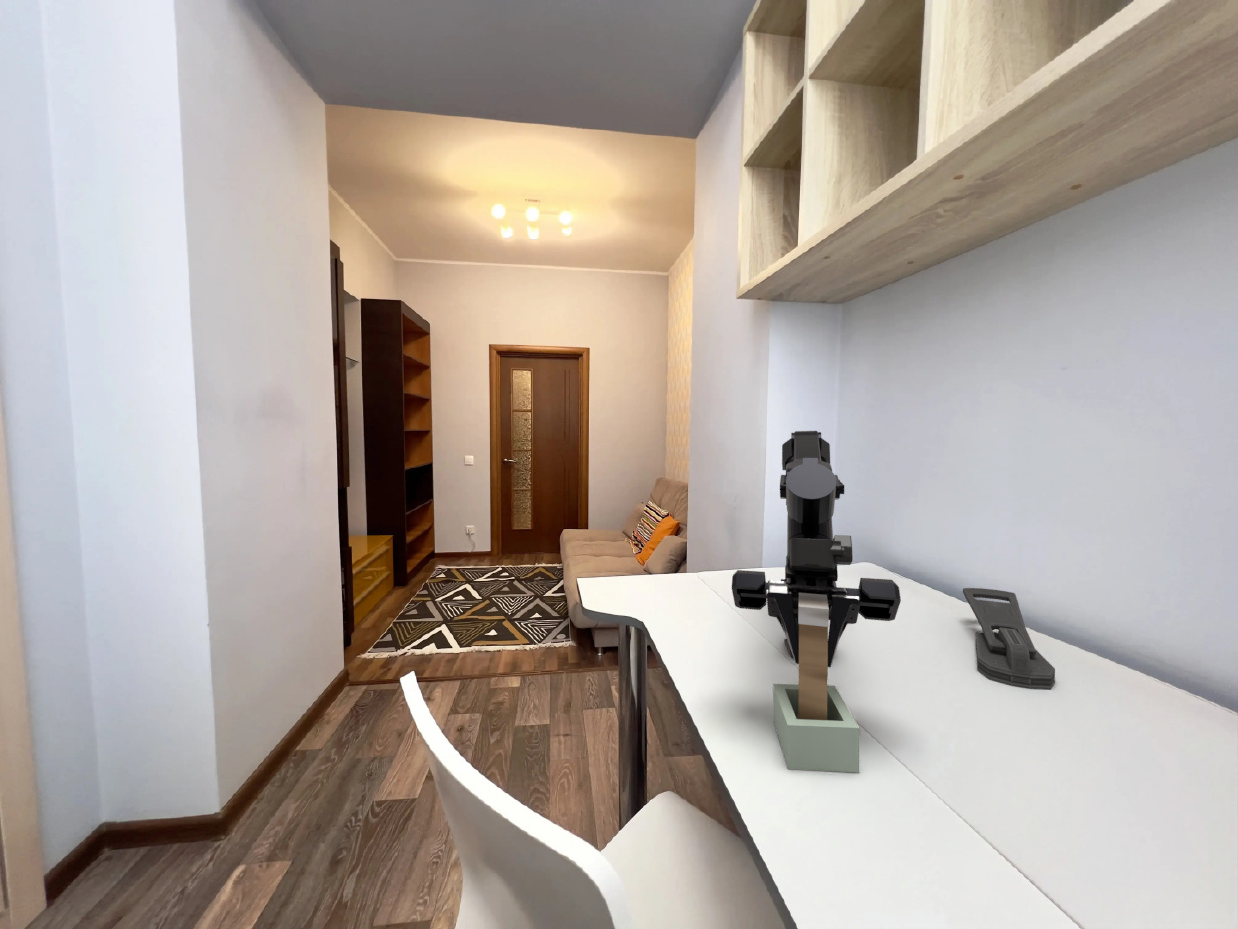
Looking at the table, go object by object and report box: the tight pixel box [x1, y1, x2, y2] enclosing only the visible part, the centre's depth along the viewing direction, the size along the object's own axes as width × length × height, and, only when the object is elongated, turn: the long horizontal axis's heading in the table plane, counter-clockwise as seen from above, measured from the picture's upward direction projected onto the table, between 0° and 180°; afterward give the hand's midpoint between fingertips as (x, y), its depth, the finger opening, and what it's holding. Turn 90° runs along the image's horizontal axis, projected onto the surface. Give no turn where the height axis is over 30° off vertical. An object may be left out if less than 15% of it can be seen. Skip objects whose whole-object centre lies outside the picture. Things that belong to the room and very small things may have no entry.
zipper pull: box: [962, 587, 1056, 690], centre depth 81 cm, size 9×7×25 cm
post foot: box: [772, 683, 860, 773], centre depth 59 cm, size 9×7×5 cm
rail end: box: [798, 593, 830, 720], centre depth 59 cm, size 5×3×14 cm, turn 160°
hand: (812, 664), depth 57 cm, fingers closed on rail end, 3 cm apart
